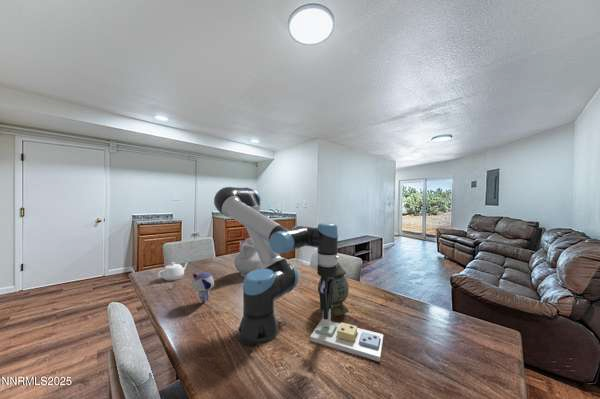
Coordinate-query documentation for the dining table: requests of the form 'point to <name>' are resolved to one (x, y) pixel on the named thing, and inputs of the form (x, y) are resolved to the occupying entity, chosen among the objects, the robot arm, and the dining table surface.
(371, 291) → the dining table surface
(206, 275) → the toy
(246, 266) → the ceramic pitcher
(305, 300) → the dining table surface
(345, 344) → the panel
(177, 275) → the teapot
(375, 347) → the tile three
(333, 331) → the tile one
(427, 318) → the dining table surface
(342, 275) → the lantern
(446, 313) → the dining table surface
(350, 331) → the tile two
